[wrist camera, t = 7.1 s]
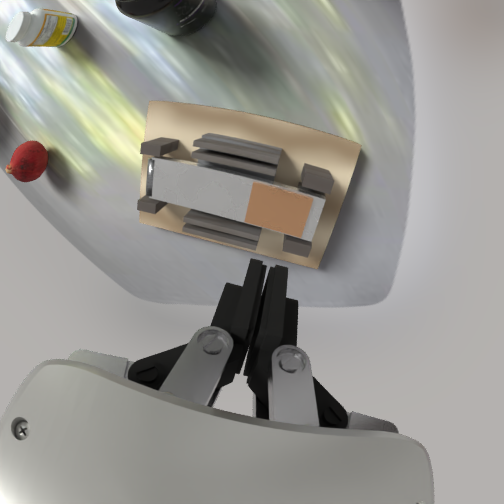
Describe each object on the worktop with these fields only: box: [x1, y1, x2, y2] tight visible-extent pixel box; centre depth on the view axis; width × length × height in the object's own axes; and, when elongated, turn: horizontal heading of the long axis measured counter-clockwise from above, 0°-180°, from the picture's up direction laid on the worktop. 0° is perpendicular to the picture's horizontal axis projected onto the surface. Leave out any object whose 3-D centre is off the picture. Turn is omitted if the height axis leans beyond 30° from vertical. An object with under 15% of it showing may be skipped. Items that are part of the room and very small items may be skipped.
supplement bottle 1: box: [6, 8, 77, 47], centre depth 15 cm, size 5×5×10 cm
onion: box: [6, 141, 48, 182], centre depth 25 cm, size 6×6×8 cm
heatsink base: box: [137, 101, 362, 269], centre depth 25 cm, size 14×21×6 cm, turn 78°
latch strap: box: [146, 156, 326, 242], centre depth 23 cm, size 4×16×1 cm, turn 78°
